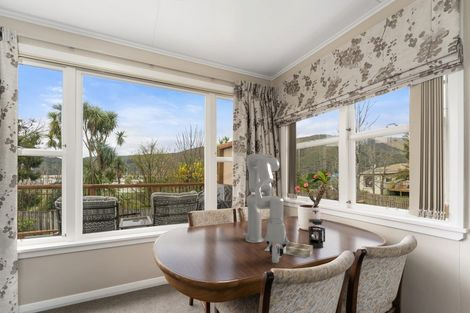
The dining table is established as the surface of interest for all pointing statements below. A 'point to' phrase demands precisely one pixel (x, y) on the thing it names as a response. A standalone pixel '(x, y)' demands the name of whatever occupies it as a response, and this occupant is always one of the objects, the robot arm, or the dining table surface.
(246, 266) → the dining table surface
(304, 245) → the frame
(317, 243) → the french press
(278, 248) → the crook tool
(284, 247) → the mat
